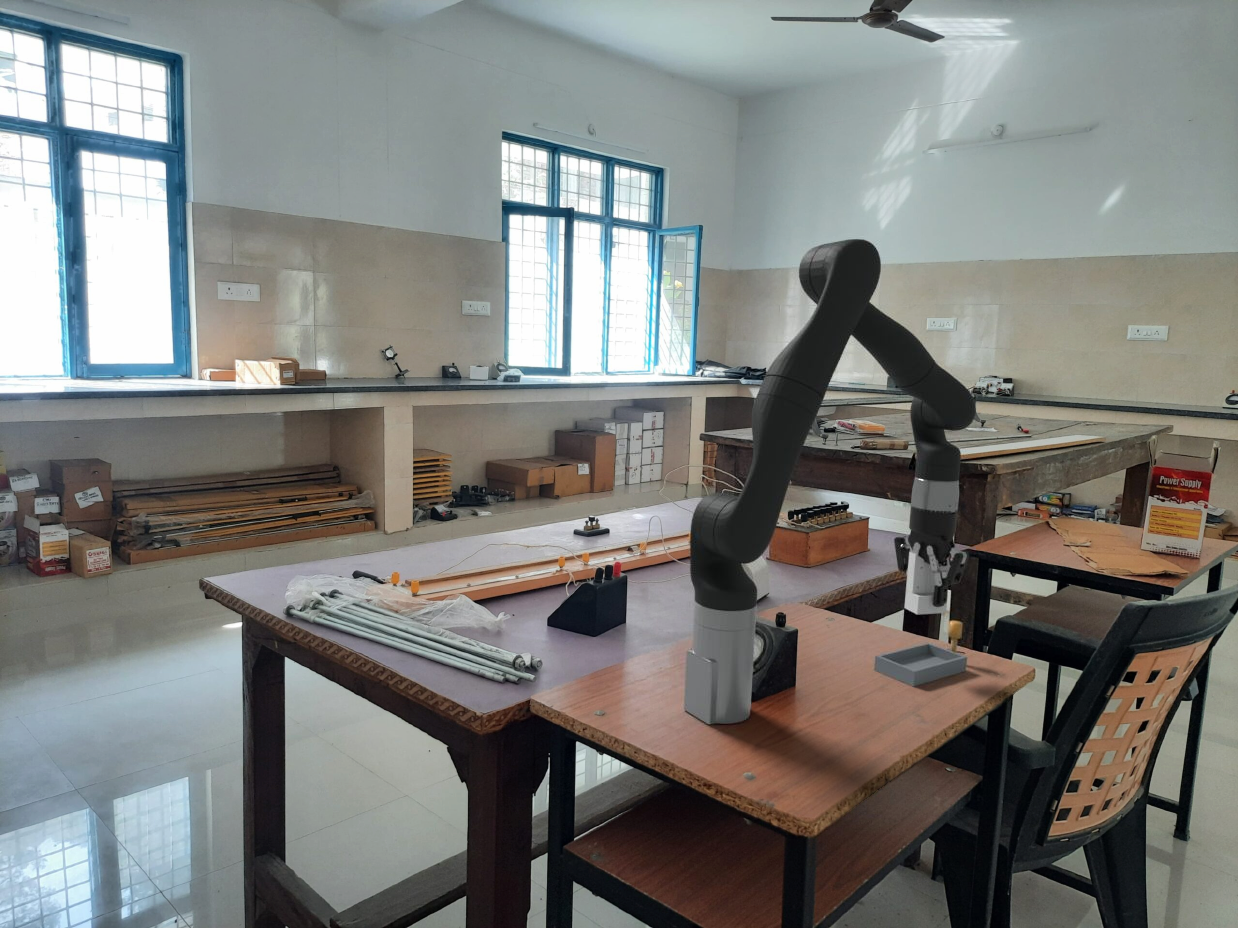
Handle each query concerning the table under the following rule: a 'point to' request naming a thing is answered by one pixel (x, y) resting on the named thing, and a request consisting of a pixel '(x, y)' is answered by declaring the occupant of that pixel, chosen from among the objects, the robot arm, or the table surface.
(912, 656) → the shallow grey tray
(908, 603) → the white angled block
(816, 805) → the table surface
